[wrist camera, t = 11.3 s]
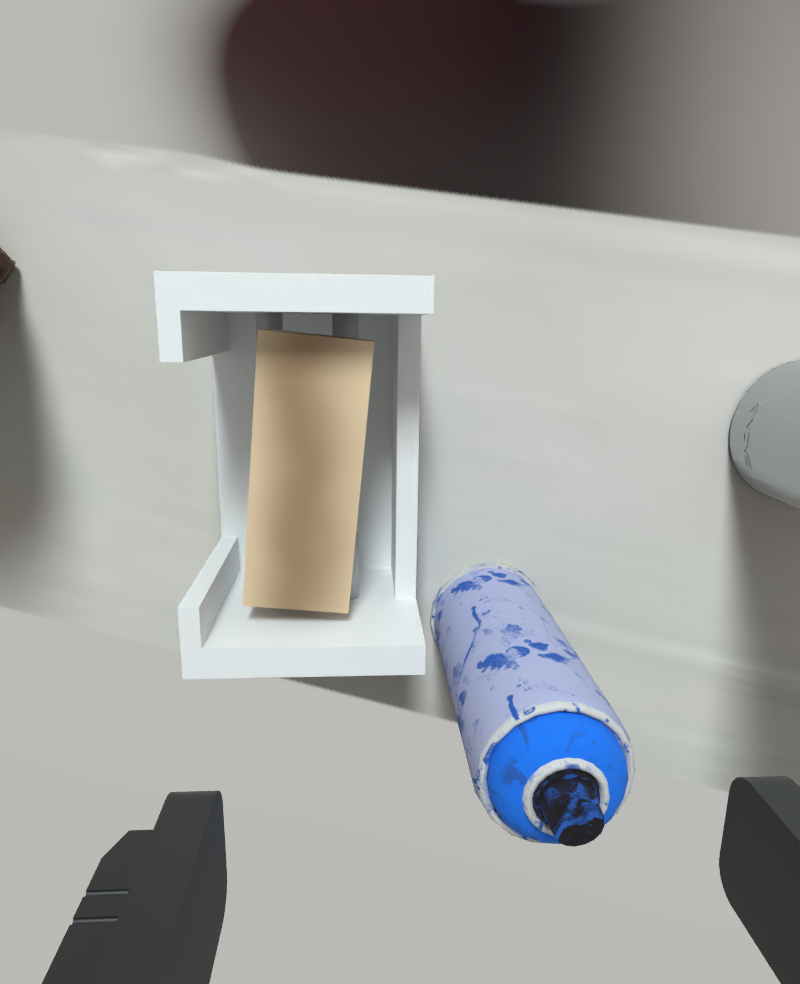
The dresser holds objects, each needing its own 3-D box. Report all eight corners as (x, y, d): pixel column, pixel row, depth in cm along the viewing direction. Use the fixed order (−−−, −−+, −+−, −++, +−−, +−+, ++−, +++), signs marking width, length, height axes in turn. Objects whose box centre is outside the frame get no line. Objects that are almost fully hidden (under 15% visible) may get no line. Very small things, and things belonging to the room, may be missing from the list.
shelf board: (372, 340, 36) (374, 342, 33) (349, 588, 39) (348, 613, 36) (267, 328, 35) (257, 329, 32) (252, 580, 39) (242, 605, 35)
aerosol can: (451, 683, 48) (515, 928, 29) (414, 586, 46) (456, 778, 27) (557, 646, 48) (692, 867, 29) (524, 546, 46) (646, 712, 27)
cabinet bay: (412, 288, 41) (434, 275, 30) (407, 585, 46) (425, 674, 34) (211, 285, 41) (153, 270, 29) (227, 587, 45) (182, 679, 34)
